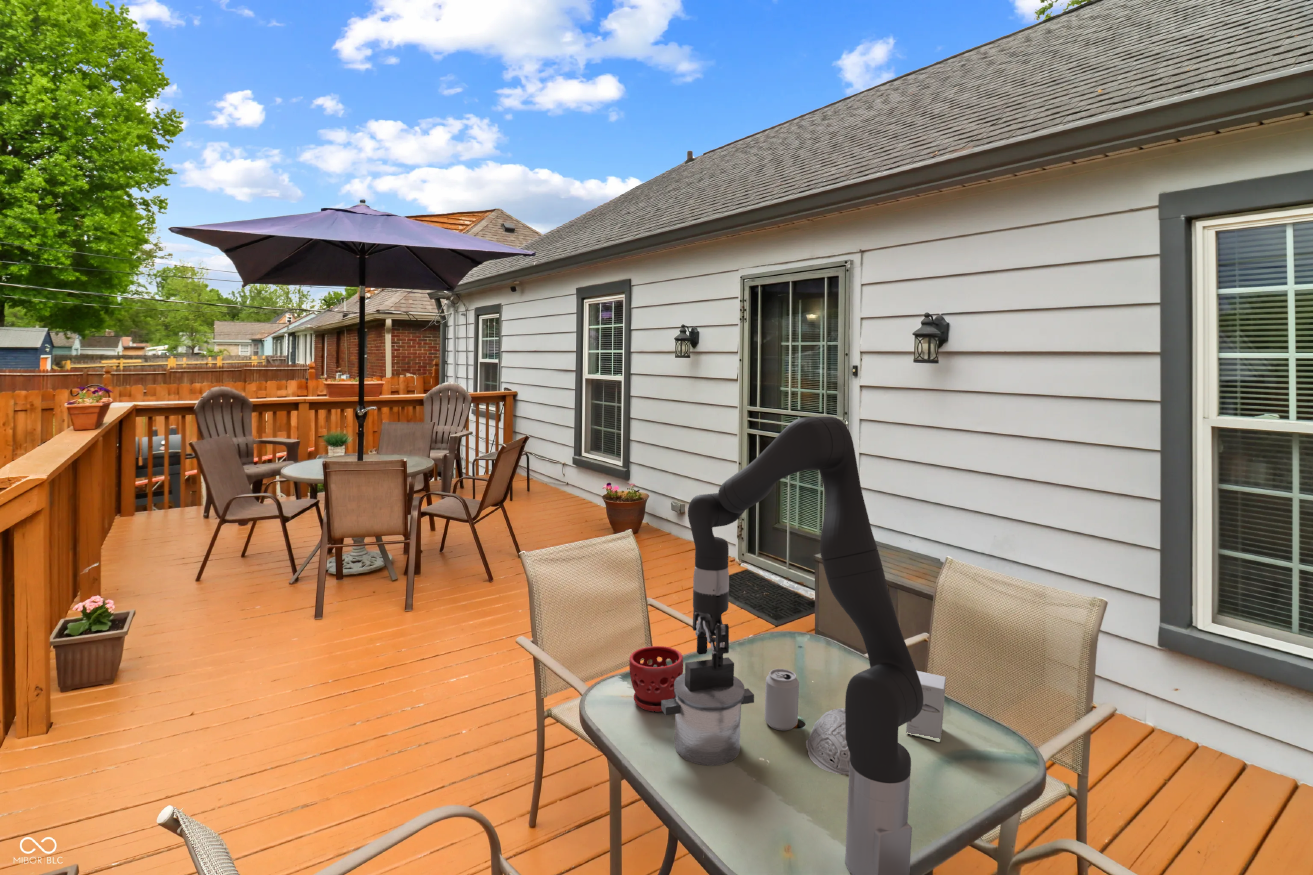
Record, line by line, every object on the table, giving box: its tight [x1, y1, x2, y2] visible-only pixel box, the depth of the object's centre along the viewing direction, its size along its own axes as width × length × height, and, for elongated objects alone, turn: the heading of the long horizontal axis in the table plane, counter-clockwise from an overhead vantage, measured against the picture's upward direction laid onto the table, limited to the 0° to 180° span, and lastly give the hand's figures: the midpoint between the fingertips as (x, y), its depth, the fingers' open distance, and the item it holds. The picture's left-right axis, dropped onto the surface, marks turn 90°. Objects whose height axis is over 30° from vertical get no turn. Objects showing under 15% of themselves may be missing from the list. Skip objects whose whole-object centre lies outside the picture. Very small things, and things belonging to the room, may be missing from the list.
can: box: [764, 668, 800, 731], centre depth 147 cm, size 8×8×12 cm
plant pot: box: [628, 645, 684, 713], centre depth 156 cm, size 13×13×12 cm
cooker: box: [661, 688, 755, 766], centre depth 137 cm, size 14×20×12 cm
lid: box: [674, 657, 745, 710], centre depth 136 cm, size 15×15×7 cm
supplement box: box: [905, 670, 947, 740], centre depth 145 cm, size 7×7×13 cm
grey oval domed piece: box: [805, 707, 850, 776], centre depth 140 cm, size 16×25×7 cm, turn 162°
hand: (709, 661), depth 136 cm, fingers open, 8 cm apart
